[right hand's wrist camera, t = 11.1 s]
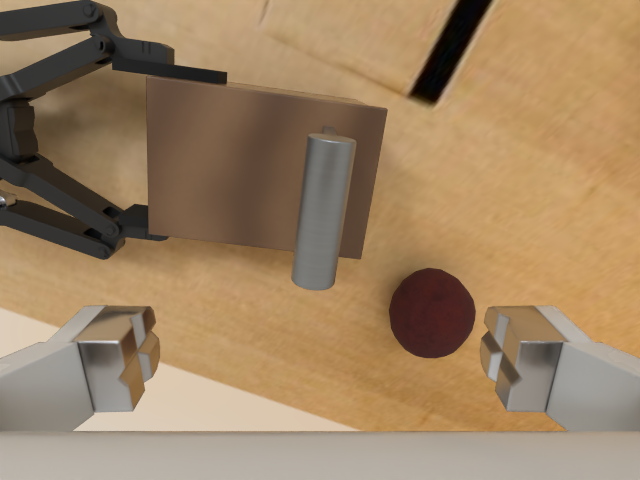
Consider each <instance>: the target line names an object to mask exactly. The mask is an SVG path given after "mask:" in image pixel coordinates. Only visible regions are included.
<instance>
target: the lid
mask: <svg viewBox="0 0 640 480" xmlns="http://www.w3.org/2000/svg"><path fill="white" fill-rule="evenodd" d="M146 102H147V163H148V224H149V234H153V235H161V236H170V237H178V238H186V239H195V240H203V241H211V242H220V243H228V244H236V245H245V246H253V247H262V248H270V249H278V250H287V251H294V257H293V265H292V274H291V279H292V281H293V282H294V283H295V284H296V285H298V286H299V287H302V288H305V289H309V290H325V289H329V288H331V287H332V286H333V285H334V282H335V276H336V270H337V263H338V257H345V258H353V259H361V255H362V250H363V244H364V239H365V233H366V228H367V222H368V216H369V211H370V205H371V200H372V194H373V189H374V183H375V177H376V172H377V166H378V161H379V155H380V150H381V144H382V139H383V133H384V127H385V122H386V116H387V111H388V110H387V109H386V108H382V107H375V106H367V105H360V104H353V103H346V102H338V101H331V100H324V99H317V98H309V97H302V96H295V95H287V94H280V93H273V92H266V91H258V90H251V89H244V88H237V87H229V86H222V85H215V84H208V83H200V82H193V81H186V80H178V79H171V78H164V77H157V76H146Z"/></svg>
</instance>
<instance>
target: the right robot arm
mask: <svg viewBox="0 0 640 480" xmlns="http://www.w3.org/2000/svg"><path fill="white" fill-rule="evenodd" d="M155 323H156V320H155V315H154V310H153V309H152V308H151V307H150V306H108V305H94V306H84V307H83V308H82V309H81V310H80V311H79V312H78V313H77V314H76V315H75V316H73V317H72V318H71V319H70V320H69V321H68V322H67V323H66V324H65V325H64V326H63V327H62V328H61V329H60V330H59V331H57V332H56V333H55V334H54V335H53V336H52V337H51V338H50V339H49V340H48V341H47V342H38V343H36V344H34V345H31V346H29V347H26V348H24V349H22V350H19V351H17V352H14V353H12V354H10V355H7V356H5V357H2V358H0V480H640V358H638V357H635V356H633V355H630V354H628V353H626V352H623V351H621V350H618V349H616V348H614V347H611V346H609V345H606V344H604V343H602V342H593V341H592V340H591V339H590V338H589V337H588V336H587V335H586V334H585V333H584V332H583V331H582V330H581V329H579V328H578V327H577V326H576V325H575V324H574V323H573V322H572V321H571V320H570V319H569V318H568V317H567V316H566V315H565V314H563V313H562V312H561V311H560V310H559V309H558V308H557V307H555V306H552V305H541V306H497V307H488V309H487V311H486V313H485V319H484V323H485V325H486V327H487V328H488V330H489V331H488V332H487V333H486V334H485V335H484V336H483V337H482V338H481V345H480V357H481V364H482V367H483V370H484V372H485V374H486V375H487V377H488V378H490V379H491V380H493V381H494V382H496V387H495V391H496V393H497V395H498V396H499V398H500V400H501V402H502V403H503V405H504V407H505V409H506V410H507V411H512V412H546V415H548V416H549V417H550V418H551V419H553V420H554V421H555V422H557V423H558V424H559V425H561V426H562V427H563V428H565V429H566V430H567V431H73V430H74V429H75V428H77V427H78V426H79V425H81V424H82V423H83V422H85V421H86V420H87V419H89V418H90V417H91V416H93V415H94V412H126V411H133V410H134V409H135V407H136V405H137V403H138V402H139V400H140V398H141V396H142V395H143V393H144V391H145V387H144V382H146V381H147V380H149V379H150V378H152V377H153V375H154V373H155V372H156V370H157V367H158V363H159V358H160V344H159V338H158V337H157V336H156V335H155V334H154V333H153V332H152V331H151V330H152V328H153V327H154V325H155Z"/></svg>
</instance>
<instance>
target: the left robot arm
mask: <svg viewBox="0 0 640 480" xmlns="http://www.w3.org/2000/svg"><path fill="white" fill-rule="evenodd" d="M88 30H90V32H91V34H90V35H91V36H92V37H91V38H89V39H87V40H84V41H82V42H80V43H78V44H76V45H74V46H71V47H69V48H67V49H65V50H63V51H61V52H58V53H56V54H54V55H52V56H50V57H47V58H45V59H43V60H41V61H39V62H37V63H34V64H32V65H30V66H28V67H26V68H24V69H21V70H19V71H17V72H15V73H13V74H9V75H4V76H1V77H0V180H2V179H4V180H6V181H8V182H9V183H11V184H13V185H15V186H19V187H25V188H27V189H29V190H30V191H32V192H34V193H35V194H37V195H39V196H40V197H42V198H44V199H45V200H47V201H49V202H50V203H52V204H54V205H55V206H57V207H59V208H60V209H62V210H64V211H65V212H67V213H69V214H70V215H72V216H74V217H75V218H74V217H71V216H68V215H66V214H63V213H60V212H57V211H55V210H52V209H49V208H46V207H43V206H41V205H38V204H35V203H32V202H28V201H22V200H18V197H17V196H16V195H15V194H10V193H7V192H4V191H2V190H1V189H0V225H2V226H7V227H10V228H13V229H16V230H19V231H22V232H24V233H27V234H30V235H33V236H36V237H39V238H42V239H45V240H47V241H50V242H53V243H56V244H59V245H62V246H65V247H67V248H70V249H73V250H76V251H79V252H82V253H85V254H88V255H90V256H93V257H96V258H99V259H103V260H105V259H108V258H109V257H111V256H112V255H113V254H114V253H115V252H117V251H118V250H119V249H120V248H121V247H123V246H124V244H125V237H130V238H138V239H147V240H154V241H162V240H167V239H168V238H169V237H170V236H161V235H153V234H149V224H148V206H146V205H138V204H134V205H132V206H131V207H129V208H128V209H126V210H125V211H124V210H122V209H121V208H119V207H117V206H116V205H114V204H113V203H111V202H109V201H108V200H106V199H105V198H103V197H101V196H100V195H98V194H97V193H95V192H93V191H92V190H90V189H88V188H87V187H85V186H84V185H82V184H80V183H79V182H77V181H76V180H74V179H72V178H71V177H69V176H68V175H66V174H64V173H63V172H61V171H59V170H58V169H56V168H55V167H54V166H53V163H52V162H51V161H49V160H48V159H46V158H45V157H43V156H41V155H40V154H38V153H37V151H38V143H37V139H36V136H35V133H34V130H33V125H34V119H35V115H34V107H33V106H29V103H28V102H30V101H32V100H34V99H36V98H39V97H41V96H43V95H45V94H46V92H48V91H50V90H52V89H55V88H57V87H59V86H61V85H64V84H66V83H68V82H70V81H72V80H75V79H77V78H79V77H81V76H84V75H86V74H88V73H90V72H93V71H95V70H97V69H99V68H102V67H104V66H106V65H108V64H111V63H112V70H119V71H126V72H133V73H140V74H148V75H155V76H165V77H172V78H180V79H187V80H194V81H201V82H209V83H216V84H227V72H221V71H214V70H207V69H199V68H192V67H185V66H178V65H174V49H173V48H171V47H169V46H168V45H165V44H161V43H155V42H148V41H141V40H134V39H127V38H125V37H124V36H123V35H122V34H121V33H120V31H119V29H118V26H117V15H116V12H115V11H114V10H113V9H112V8H110V7H108V6H105V5H102V4H100V3H97V2H94V1H91V0H79V1H73V2H66V3H59V4H53V5H46V6H39V7H32V8H26V9H19V10H12V11H5V12H0V40H1V41H19V40H26V39H33V38H40V37H47V36H54V35H60V34H67V33H74V32H81V31H88Z"/></svg>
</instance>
